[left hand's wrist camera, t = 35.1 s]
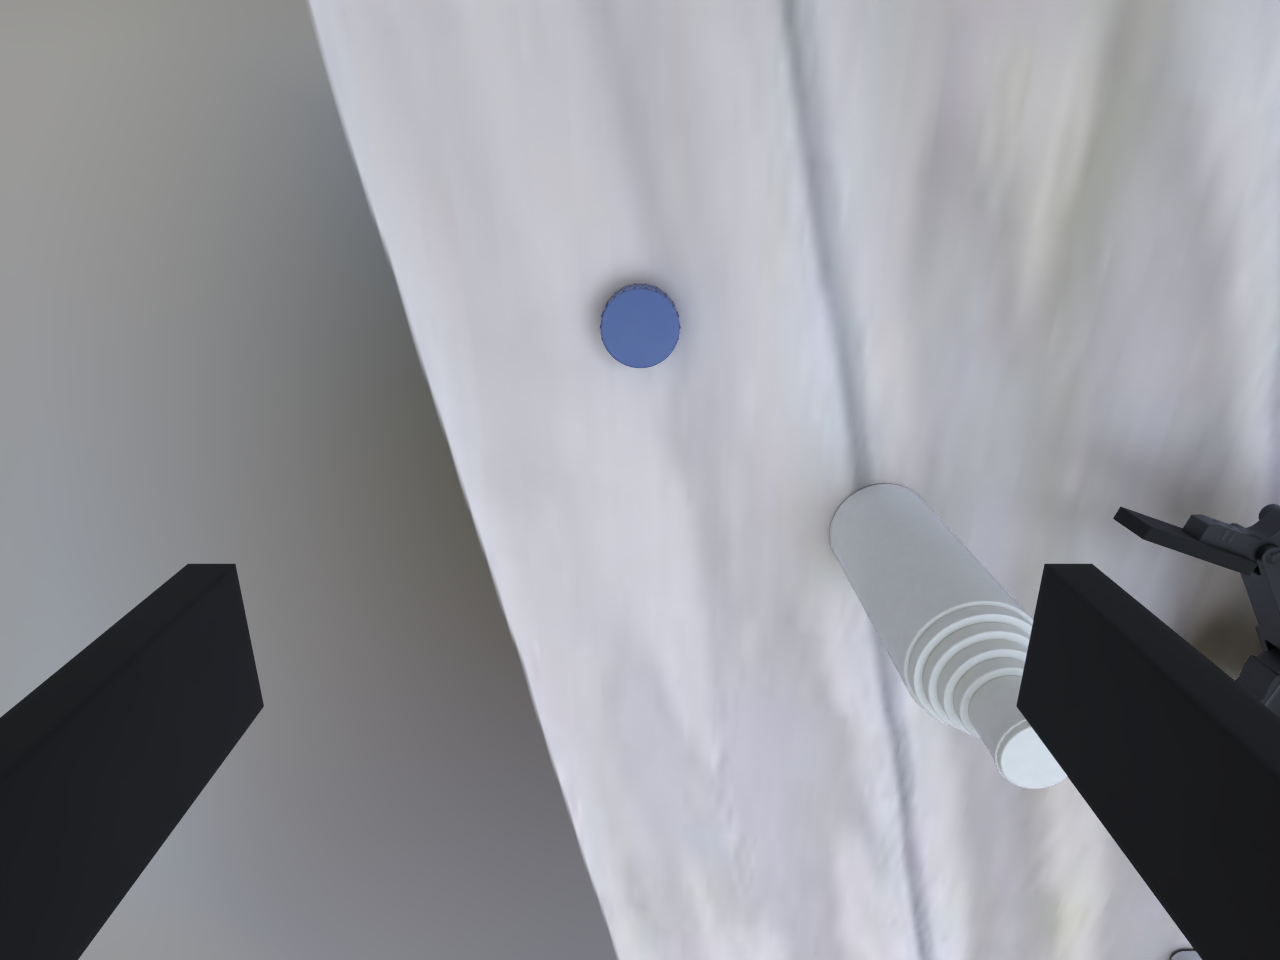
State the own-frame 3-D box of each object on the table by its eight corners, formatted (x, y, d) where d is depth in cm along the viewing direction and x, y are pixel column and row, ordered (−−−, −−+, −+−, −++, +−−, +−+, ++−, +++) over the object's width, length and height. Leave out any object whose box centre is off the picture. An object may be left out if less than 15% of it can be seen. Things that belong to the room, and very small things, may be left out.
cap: (687, 348, 45) (689, 356, 43) (614, 369, 45) (612, 378, 43) (667, 273, 43) (668, 277, 41) (591, 296, 44) (589, 301, 42)
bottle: (850, 590, 50) (985, 845, 31) (814, 509, 48) (933, 725, 29) (944, 551, 49) (1145, 788, 30) (911, 466, 47) (1103, 660, 28)
